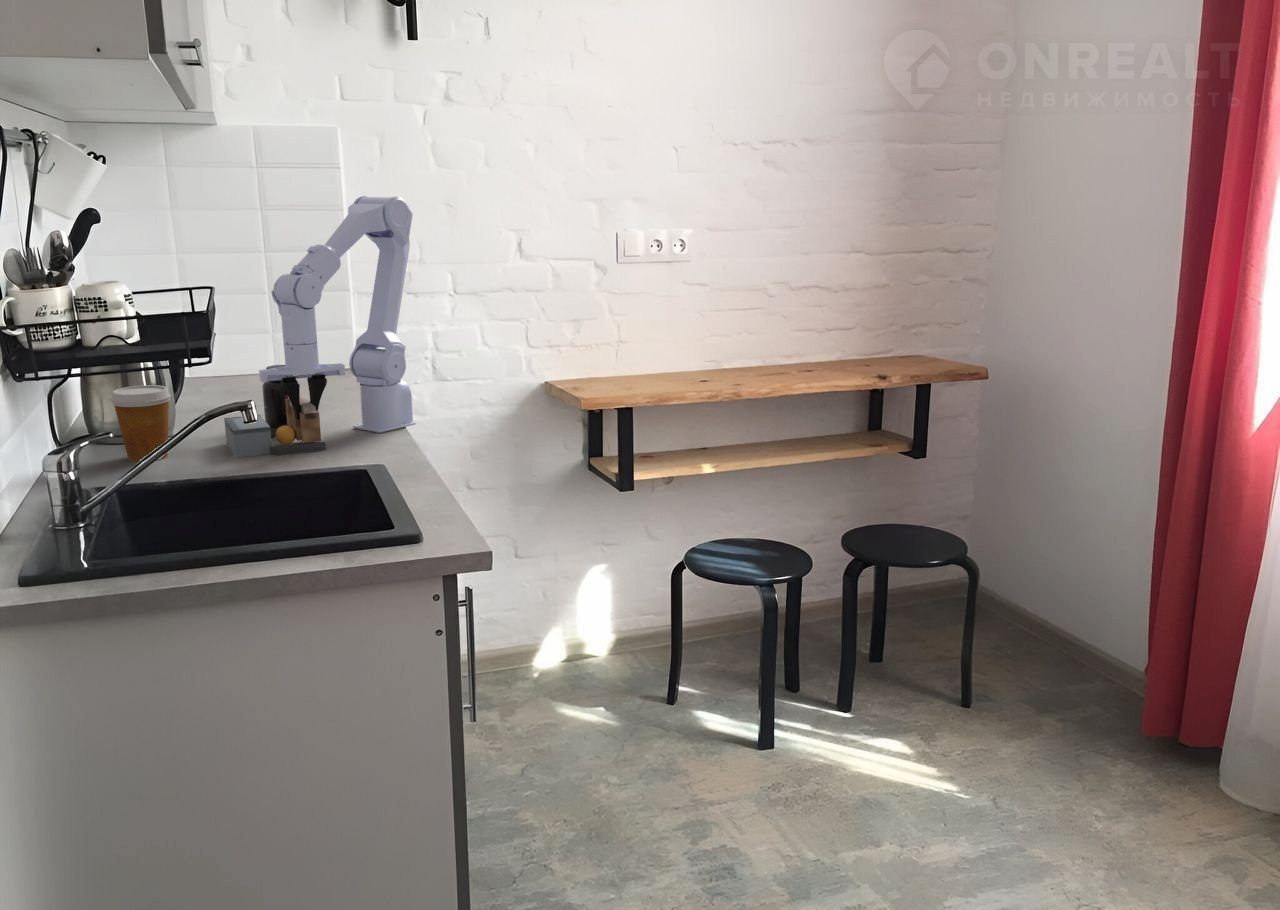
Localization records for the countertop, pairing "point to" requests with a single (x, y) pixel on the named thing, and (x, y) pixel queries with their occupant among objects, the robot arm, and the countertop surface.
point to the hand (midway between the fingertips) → (306, 417)
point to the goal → (247, 437)
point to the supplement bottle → (274, 402)
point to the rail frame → (295, 446)
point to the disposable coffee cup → (142, 418)
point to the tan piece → (304, 421)
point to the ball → (285, 435)
